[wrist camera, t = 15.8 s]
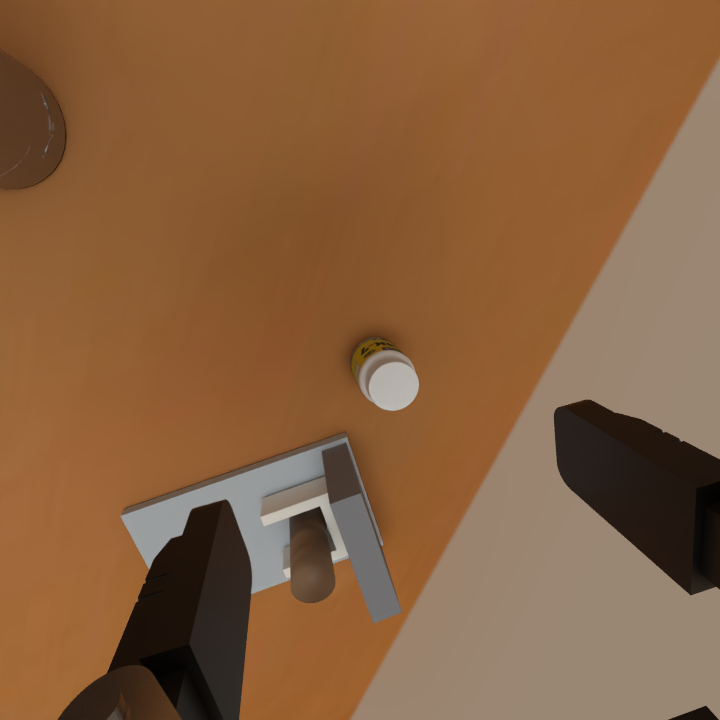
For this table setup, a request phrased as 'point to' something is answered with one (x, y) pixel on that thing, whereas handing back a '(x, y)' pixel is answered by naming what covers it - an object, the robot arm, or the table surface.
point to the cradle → (297, 503)
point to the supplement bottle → (384, 374)
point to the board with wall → (265, 543)
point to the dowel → (310, 557)
